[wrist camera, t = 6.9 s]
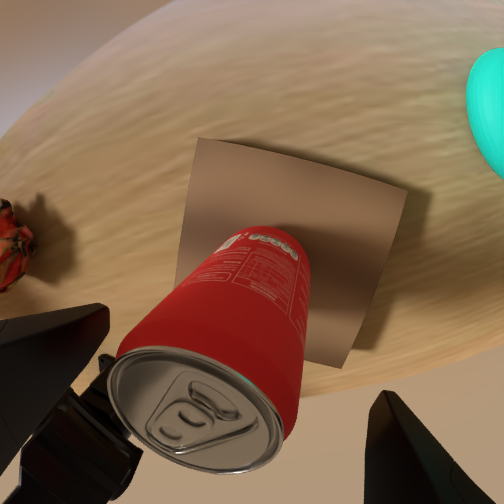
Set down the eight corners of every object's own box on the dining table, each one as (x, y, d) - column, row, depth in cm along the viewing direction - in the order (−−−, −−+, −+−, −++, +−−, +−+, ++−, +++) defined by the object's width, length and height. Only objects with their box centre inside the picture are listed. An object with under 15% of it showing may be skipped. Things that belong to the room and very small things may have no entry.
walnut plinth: (339, 348, 21) (341, 368, 19) (184, 303, 23) (170, 319, 20) (397, 186, 17) (408, 190, 15) (212, 139, 19) (198, 137, 16)
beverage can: (330, 264, 17) (341, 436, 6) (269, 321, 19) (212, 491, 8) (260, 202, 17) (151, 290, 6) (205, 266, 19) (79, 396, 7)
